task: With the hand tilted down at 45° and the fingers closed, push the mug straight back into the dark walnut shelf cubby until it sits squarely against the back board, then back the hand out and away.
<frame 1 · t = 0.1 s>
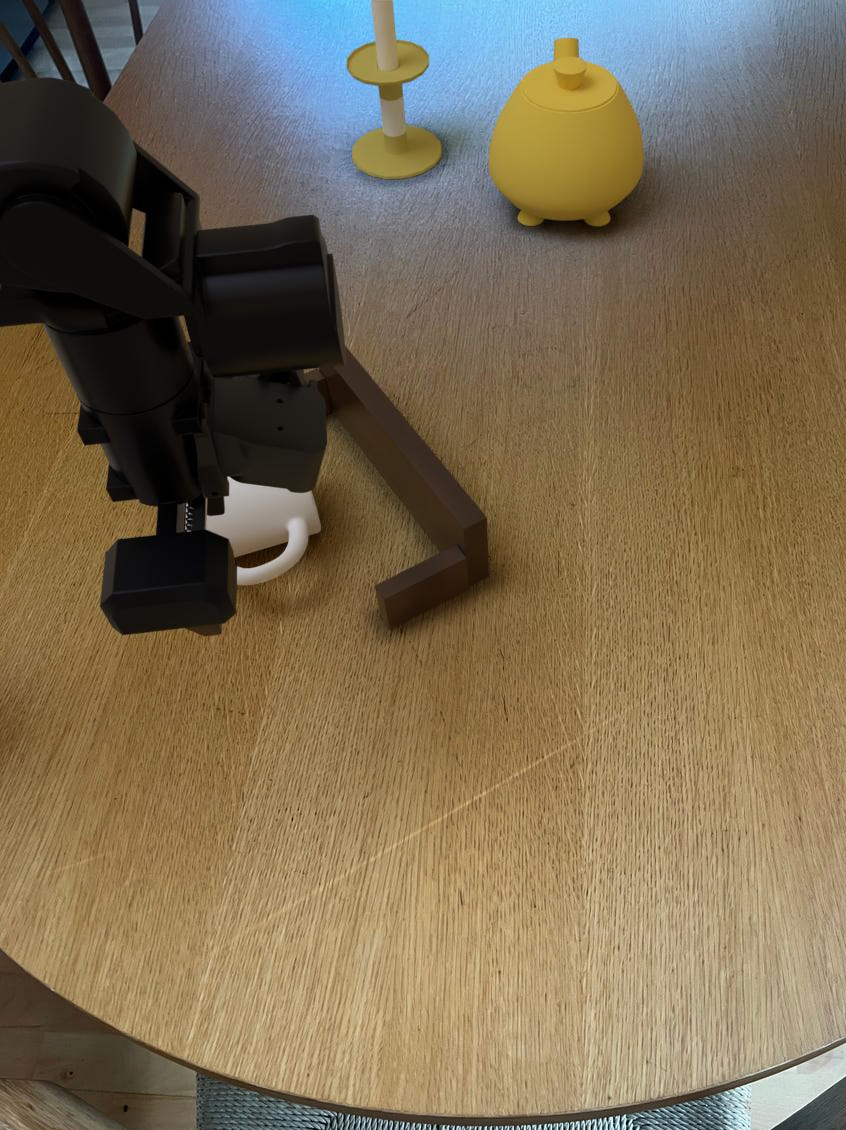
hand: (214, 571, 62), 14 cm above the table, tool pointing down, fingers open, 9 cm apart
mug: (261, 553, 81), on the table
shelf: (316, 525, 82), on the table
teapot: (564, 187, 107), on the table
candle: (397, 154, 111), on the table
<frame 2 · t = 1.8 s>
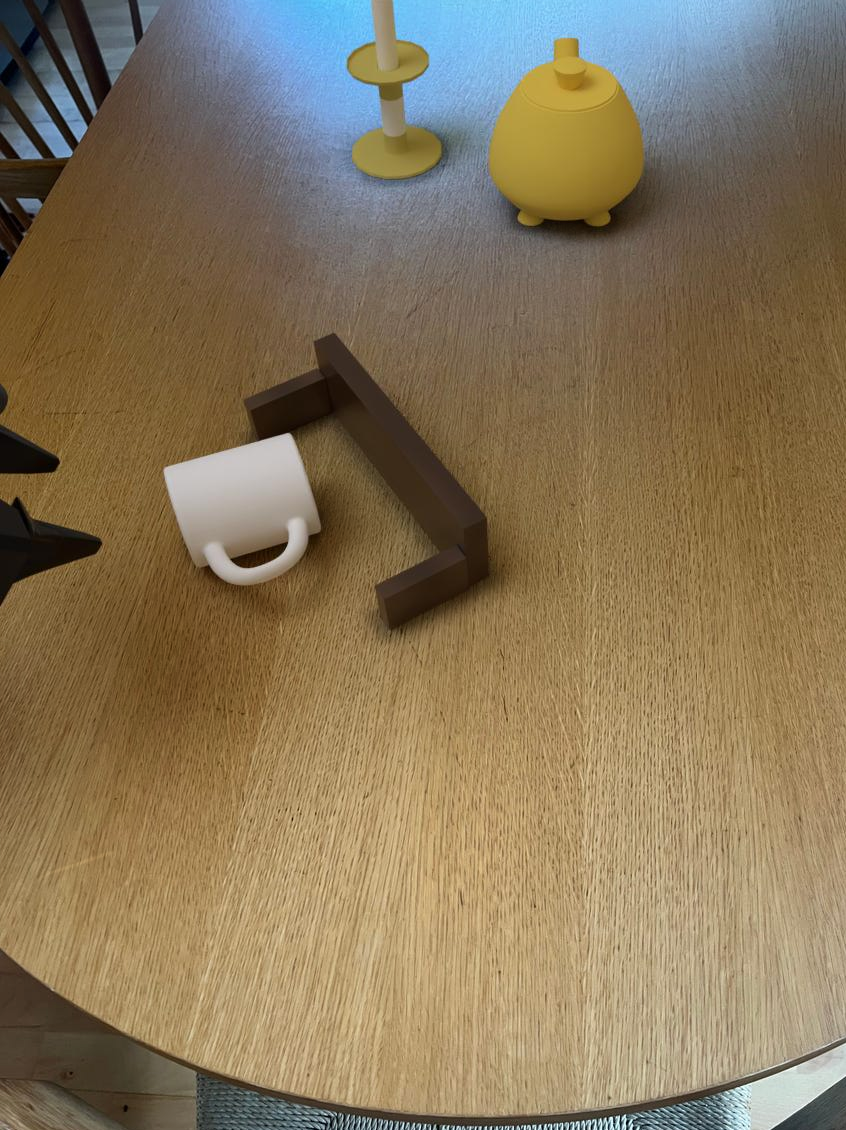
hand: (77, 504, 67), 12 cm above the table, tool tilted 45°, fingers open, 8 cm apart
nothing on the table moved.
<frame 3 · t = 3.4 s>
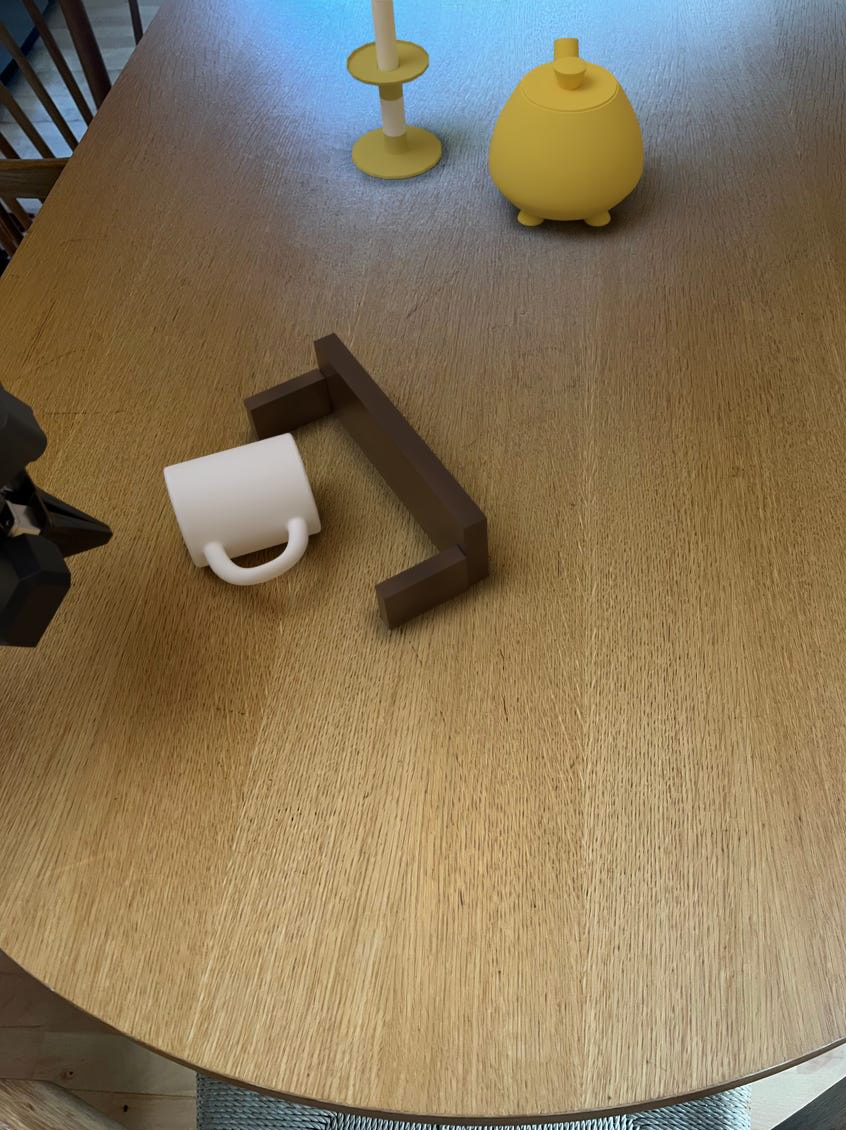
hand: (108, 535, 71), 9 cm above the table, tool tilted 45°, fingers closed
nothing on the table moved.
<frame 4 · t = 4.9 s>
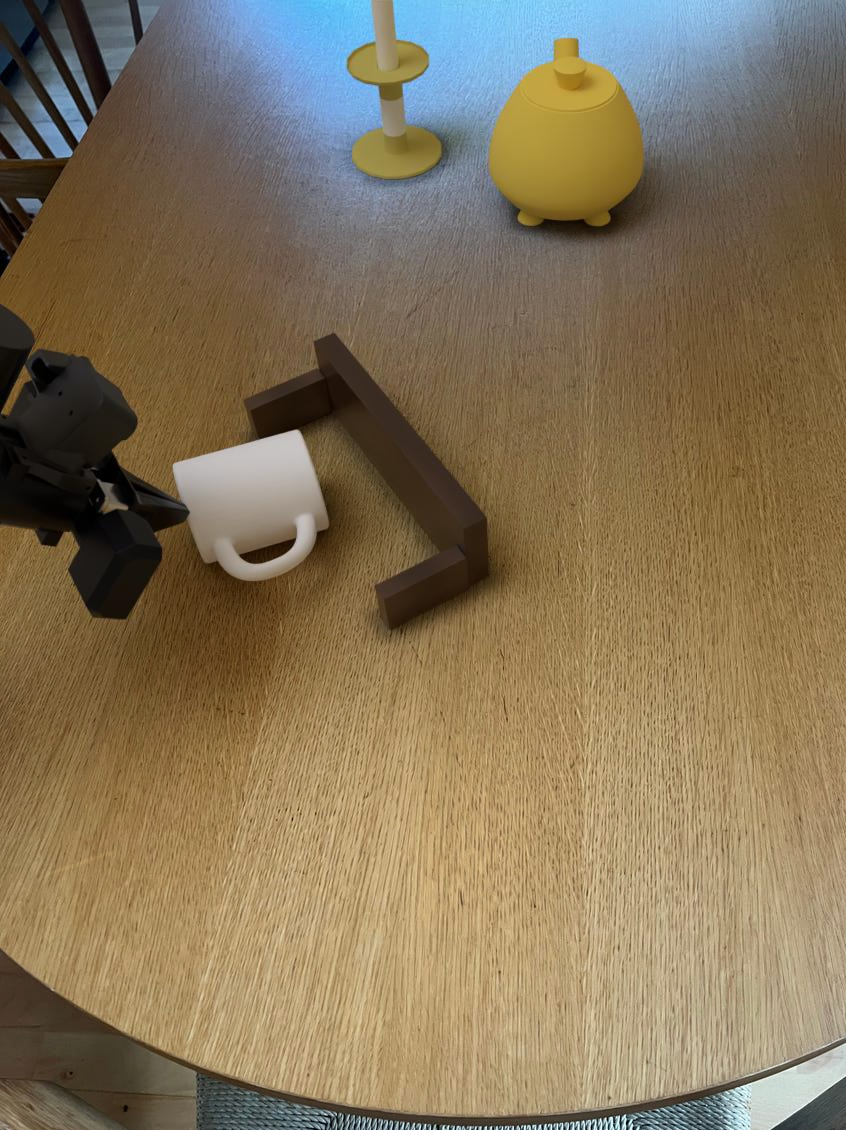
hand: (185, 513, 74), 7 cm above the table, tool tilted 45°, fingers closed
mug: (269, 549, 81), on the table, touching gripper
everything else where it was.
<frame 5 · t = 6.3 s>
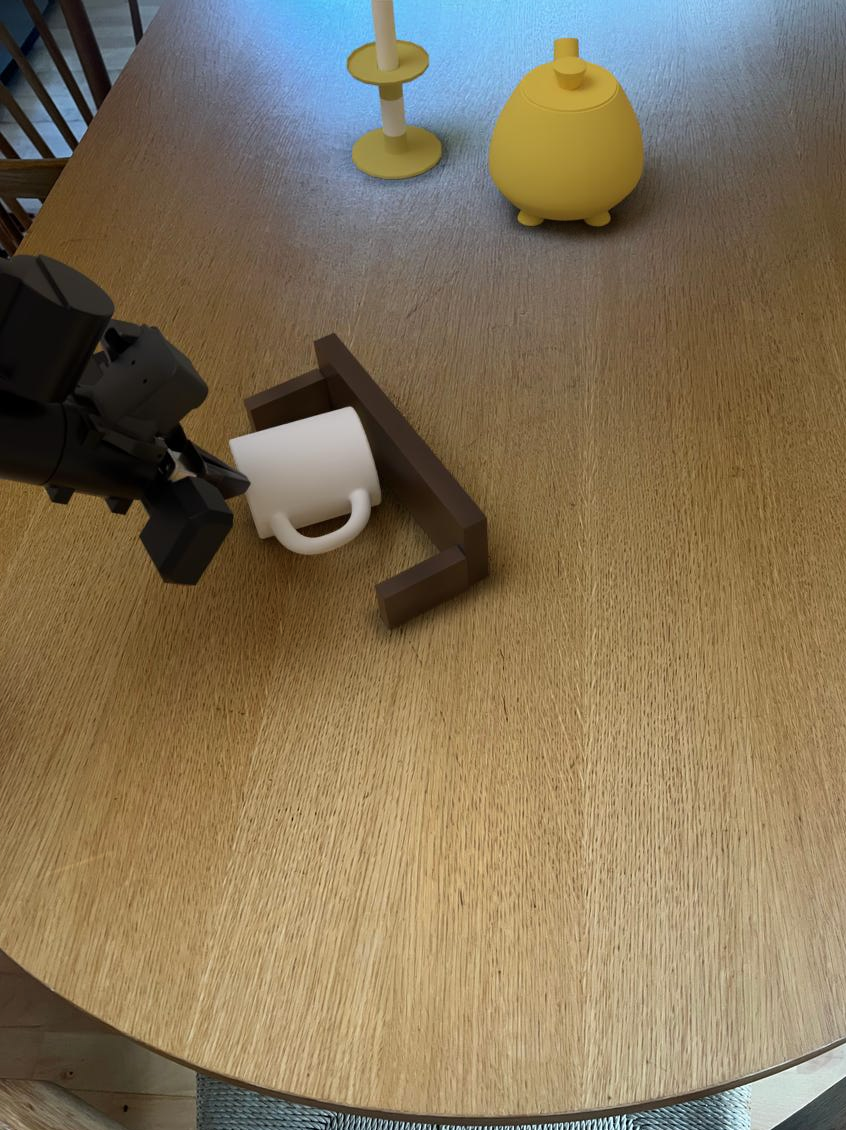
hand: (246, 485, 75), 7 cm above the table, tool tilted 45°, fingers closed
mug: (321, 525, 82), on the table, touching gripper
everything else where it was.
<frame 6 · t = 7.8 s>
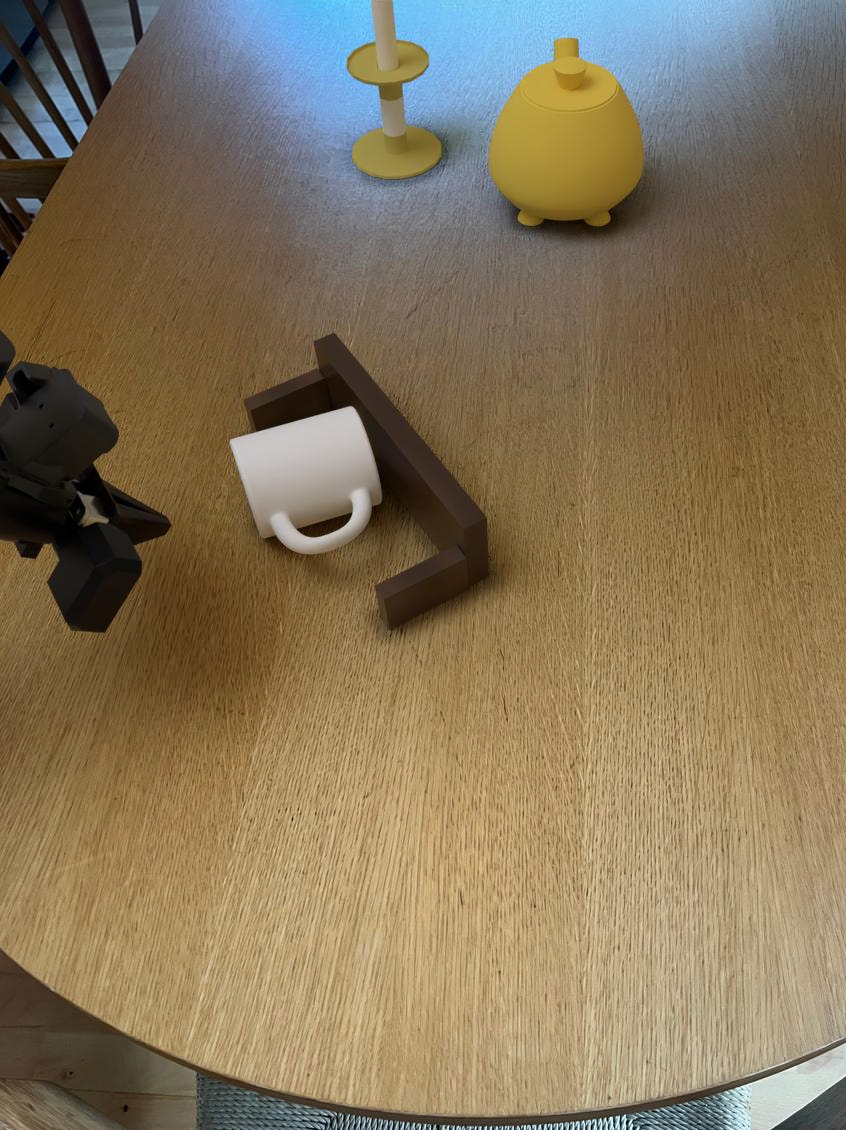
hand: (167, 526, 73), 7 cm above the table, tool tilted 45°, fingers closed
mug: (322, 524, 82), on the table
everything else where it was.
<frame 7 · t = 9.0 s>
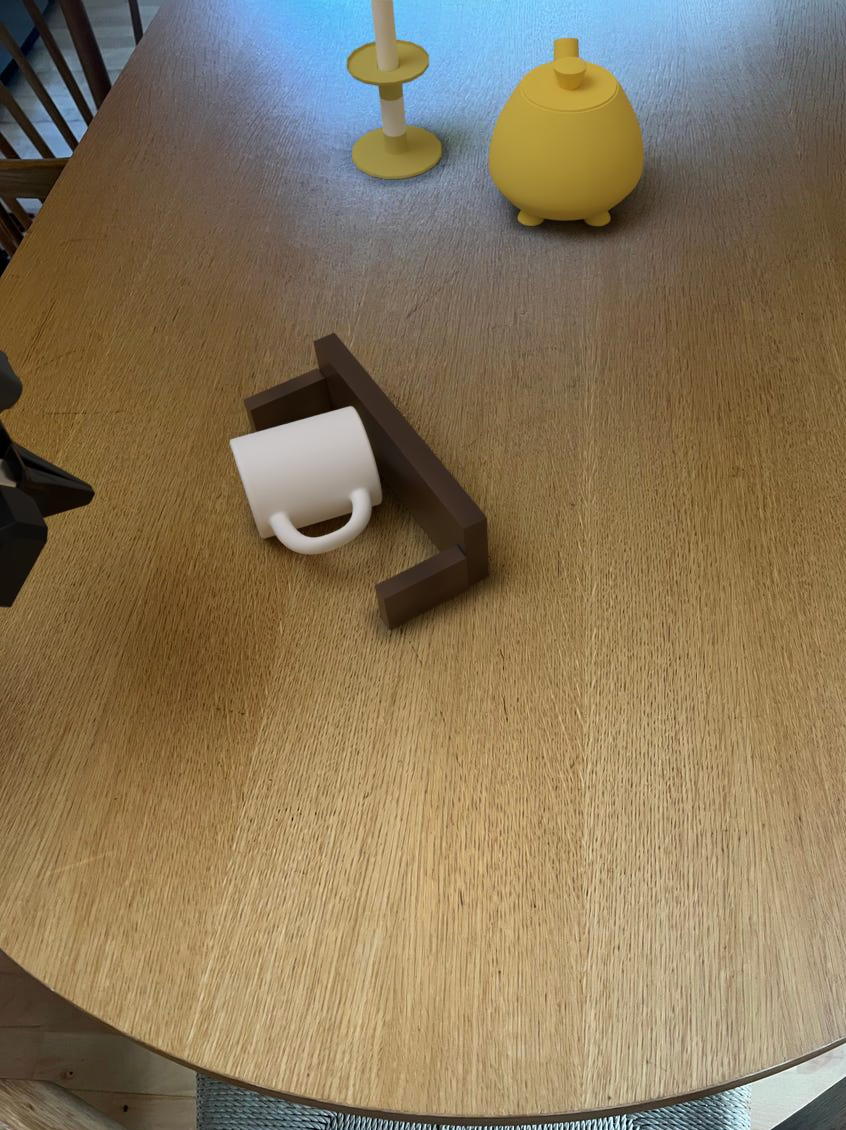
hand: (91, 495, 68), 13 cm above the table, tool tilted 45°, fingers closed
nothing on the table moved.
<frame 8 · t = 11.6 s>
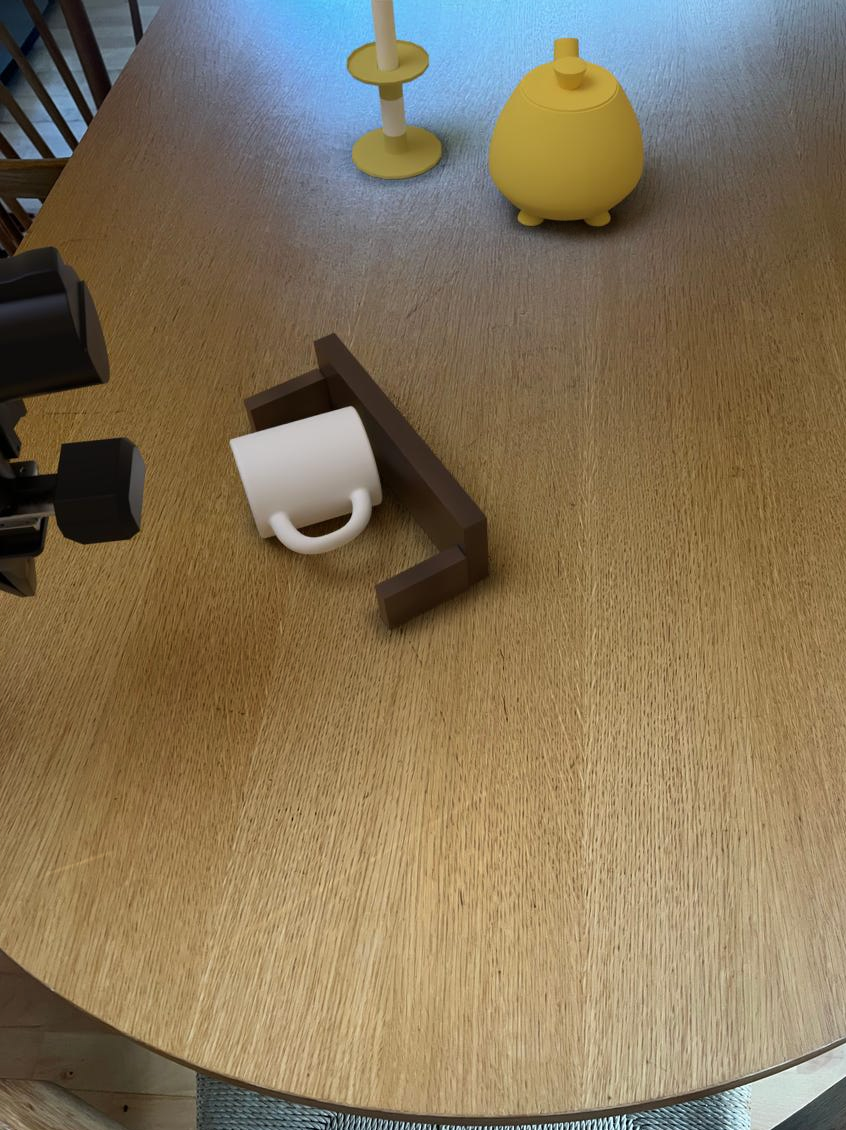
hand: (30, 591, 64), 12 cm above the table, tool pointing down, fingers closed
nothing on the table moved.
at the end: mug inside the target area on the shelf (0.2 cm from its centre), point 0.0 cm above the shelf's base; mug tilted 0°; teapot moved 0.2 cm from its start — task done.
